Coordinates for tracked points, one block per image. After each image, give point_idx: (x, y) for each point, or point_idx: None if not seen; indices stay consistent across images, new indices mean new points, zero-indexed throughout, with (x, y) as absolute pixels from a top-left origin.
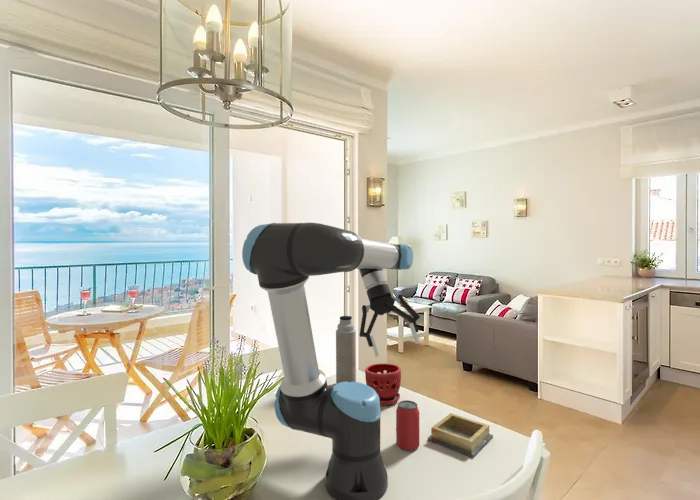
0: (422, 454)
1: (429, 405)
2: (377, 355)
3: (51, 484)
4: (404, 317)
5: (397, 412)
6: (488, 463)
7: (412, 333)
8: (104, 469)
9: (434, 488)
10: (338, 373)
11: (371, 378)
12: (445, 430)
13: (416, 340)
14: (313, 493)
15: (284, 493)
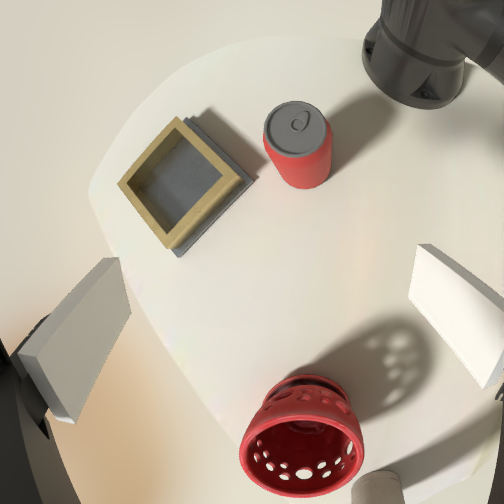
0: None
1: (198, 357)
2: (426, 244)
3: None
4: (47, 468)
5: (330, 128)
6: (173, 106)
7: (100, 350)
8: None
9: (286, 45)
10: (403, 498)
11: (354, 421)
12: (208, 160)
13: (111, 267)
14: (466, 63)
15: None
